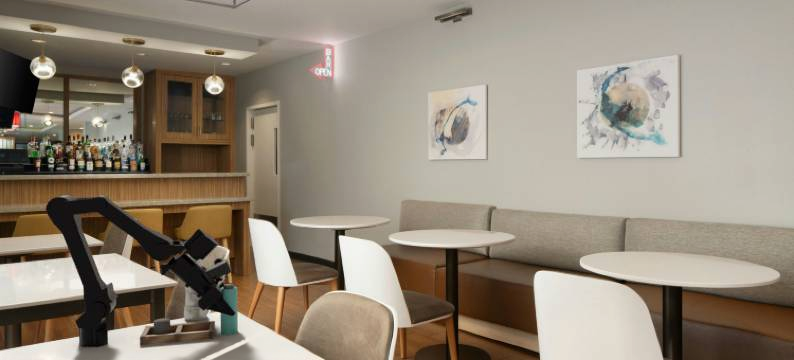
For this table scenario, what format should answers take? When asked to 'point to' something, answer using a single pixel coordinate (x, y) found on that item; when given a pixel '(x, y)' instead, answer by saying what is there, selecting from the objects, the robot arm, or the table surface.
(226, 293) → the teal rounded cylinder
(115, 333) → the table surface
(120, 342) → the table surface
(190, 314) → the plastic bottle
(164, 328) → the dark gray rounded cylinder
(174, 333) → the tray
